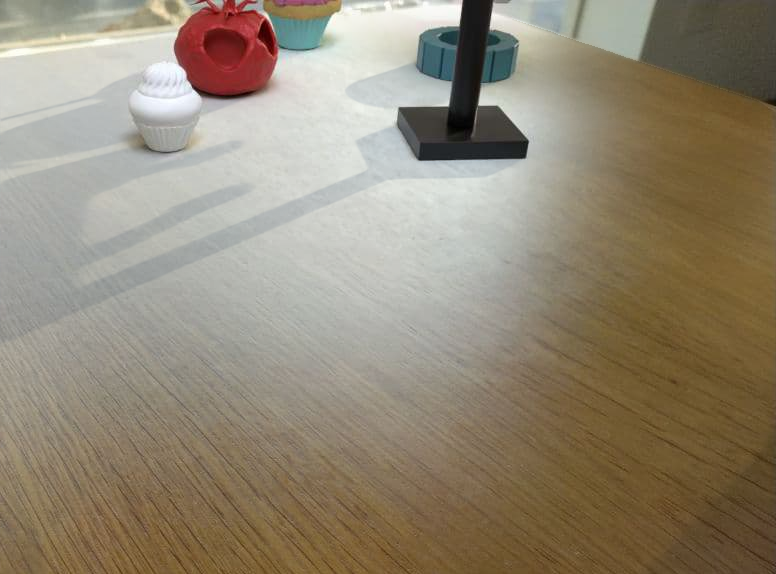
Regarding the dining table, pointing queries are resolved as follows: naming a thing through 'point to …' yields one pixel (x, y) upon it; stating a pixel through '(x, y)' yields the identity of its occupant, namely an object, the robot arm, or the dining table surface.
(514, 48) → the ring
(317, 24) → the cupcake
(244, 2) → the pomegranate
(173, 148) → the muffin
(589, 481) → the dining table surface
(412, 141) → the stand
